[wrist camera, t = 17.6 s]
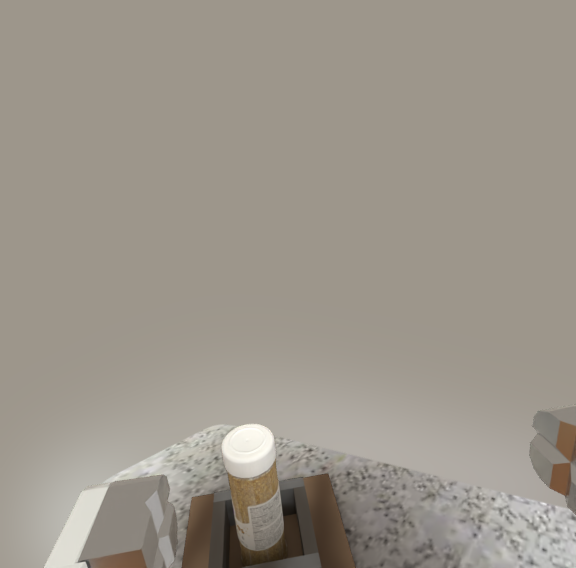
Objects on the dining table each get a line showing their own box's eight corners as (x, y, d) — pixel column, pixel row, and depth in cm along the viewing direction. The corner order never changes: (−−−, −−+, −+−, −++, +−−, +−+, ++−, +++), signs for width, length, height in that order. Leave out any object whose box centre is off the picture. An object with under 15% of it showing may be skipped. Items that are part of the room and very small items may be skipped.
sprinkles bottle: (236, 542, 37) (216, 431, 33) (279, 524, 38) (265, 415, 34) (248, 588, 33) (226, 467, 28) (296, 566, 34) (281, 448, 30)
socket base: (328, 481, 44) (326, 449, 43) (375, 644, 29) (373, 603, 28) (193, 505, 43) (186, 473, 41) (168, 689, 28) (155, 649, 26)
